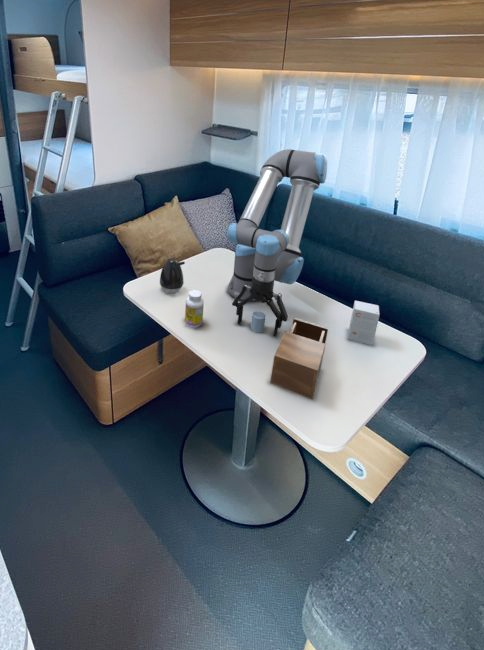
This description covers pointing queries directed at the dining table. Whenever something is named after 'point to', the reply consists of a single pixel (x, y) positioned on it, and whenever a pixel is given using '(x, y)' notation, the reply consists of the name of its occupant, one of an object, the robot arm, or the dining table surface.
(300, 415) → the dining table surface
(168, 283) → the pump dispenser
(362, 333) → the small box
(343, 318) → the dining table surface
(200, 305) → the supplement bottle
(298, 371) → the wooden block
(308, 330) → the drawer
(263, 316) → the light blue cylinder
